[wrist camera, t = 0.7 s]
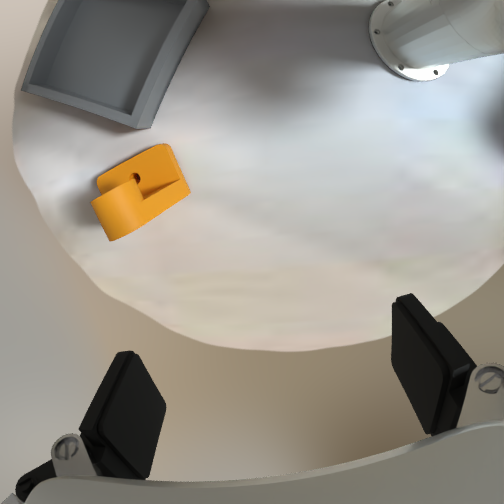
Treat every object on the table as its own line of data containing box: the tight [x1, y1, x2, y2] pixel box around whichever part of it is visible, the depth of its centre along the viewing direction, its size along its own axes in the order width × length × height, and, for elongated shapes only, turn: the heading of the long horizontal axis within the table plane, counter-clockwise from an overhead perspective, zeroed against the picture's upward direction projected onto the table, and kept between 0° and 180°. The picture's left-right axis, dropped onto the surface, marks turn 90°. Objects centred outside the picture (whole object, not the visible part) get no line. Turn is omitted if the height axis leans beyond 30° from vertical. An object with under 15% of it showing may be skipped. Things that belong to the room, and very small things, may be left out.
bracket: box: [90, 144, 191, 241], centre depth 34 cm, size 11×7×12 cm
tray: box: [21, 0, 210, 129], centre depth 30 cm, size 18×20×5 cm
